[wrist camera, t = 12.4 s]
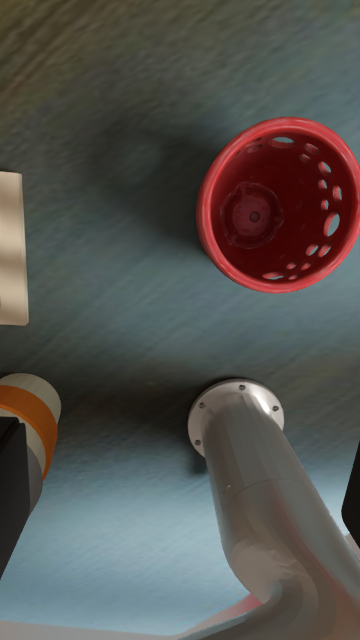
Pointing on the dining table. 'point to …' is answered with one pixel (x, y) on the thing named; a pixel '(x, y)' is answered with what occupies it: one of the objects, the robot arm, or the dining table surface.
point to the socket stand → (12, 252)
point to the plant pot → (279, 205)
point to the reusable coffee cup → (33, 422)
